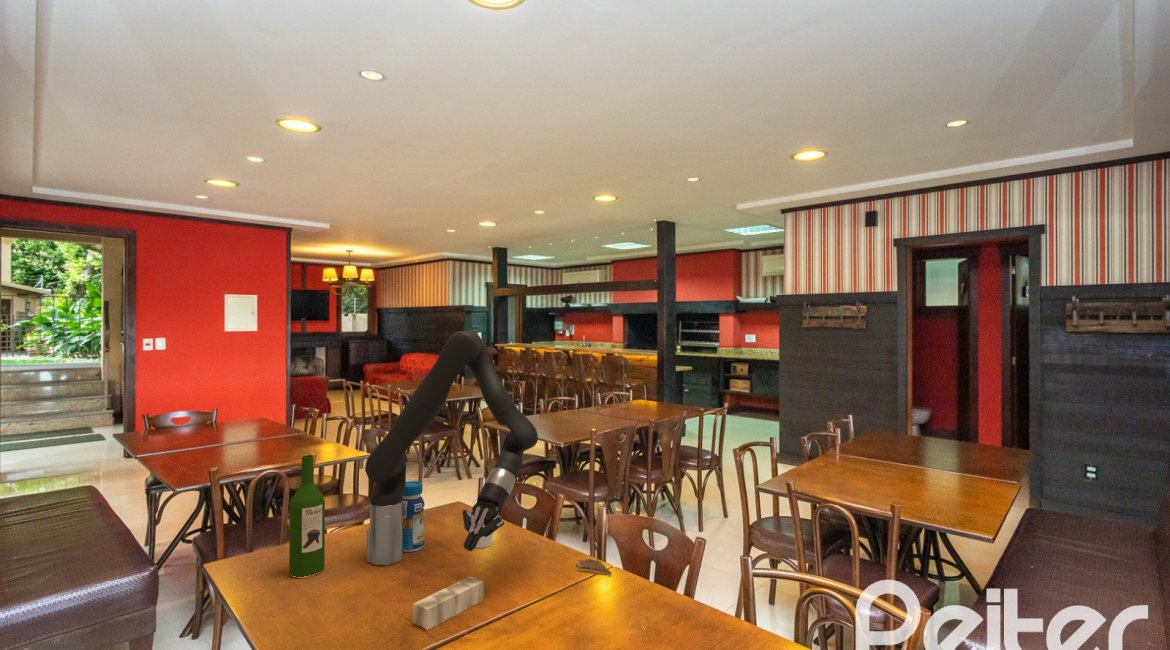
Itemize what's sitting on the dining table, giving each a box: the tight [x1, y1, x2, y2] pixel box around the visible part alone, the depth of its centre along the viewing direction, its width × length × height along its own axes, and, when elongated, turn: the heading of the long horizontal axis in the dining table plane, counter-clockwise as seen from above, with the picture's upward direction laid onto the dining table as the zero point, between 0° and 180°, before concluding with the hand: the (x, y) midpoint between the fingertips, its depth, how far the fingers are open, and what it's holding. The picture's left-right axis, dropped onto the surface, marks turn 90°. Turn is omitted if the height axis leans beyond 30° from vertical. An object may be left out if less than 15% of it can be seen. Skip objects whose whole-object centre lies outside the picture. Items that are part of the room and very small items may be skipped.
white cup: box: [471, 517, 494, 549], centre depth 182 cm, size 8×8×10 cm
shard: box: [575, 558, 613, 576], centre depth 163 cm, size 11×8×2 cm
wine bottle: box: [288, 454, 326, 577], centre depth 162 cm, size 9×9×32 cm
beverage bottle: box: [403, 480, 426, 553], centre depth 179 cm, size 8×8×20 cm
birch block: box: [412, 576, 485, 631], centre depth 140 cm, size 5×5×18 cm
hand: (467, 549), depth 145 cm, fingers closed
